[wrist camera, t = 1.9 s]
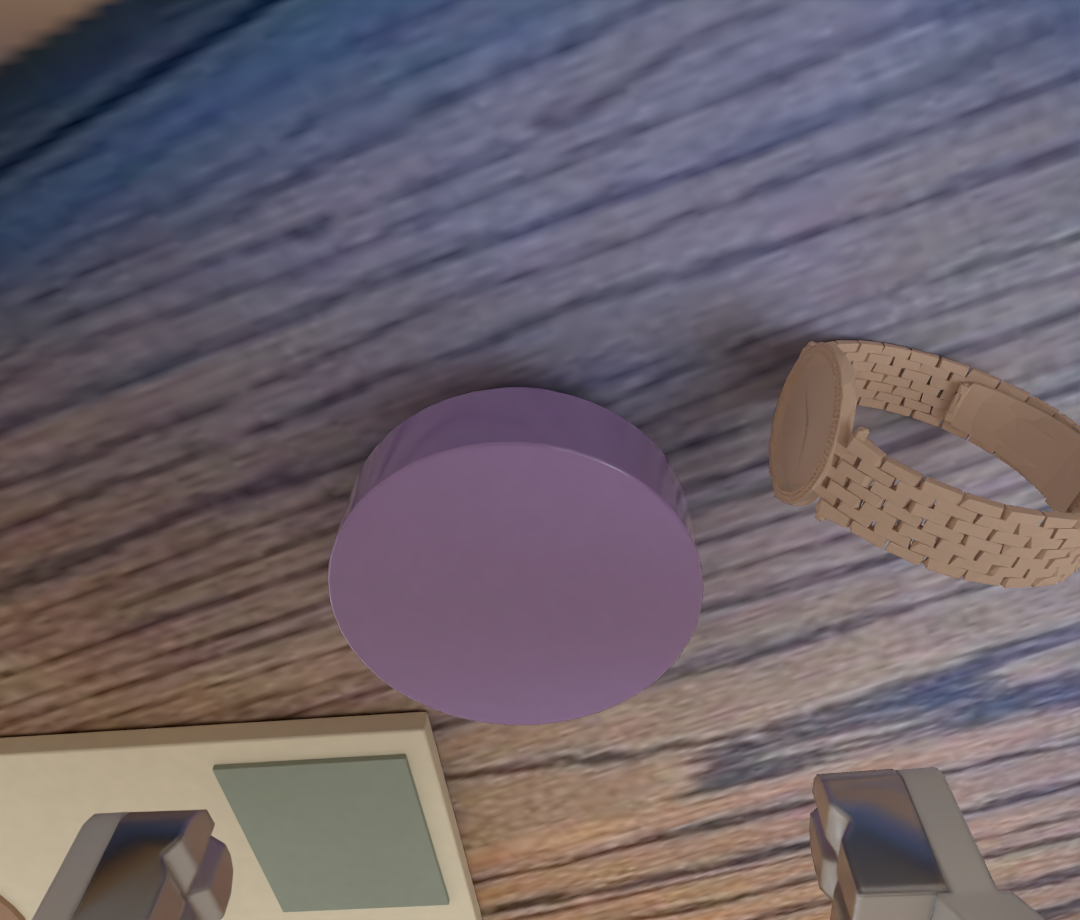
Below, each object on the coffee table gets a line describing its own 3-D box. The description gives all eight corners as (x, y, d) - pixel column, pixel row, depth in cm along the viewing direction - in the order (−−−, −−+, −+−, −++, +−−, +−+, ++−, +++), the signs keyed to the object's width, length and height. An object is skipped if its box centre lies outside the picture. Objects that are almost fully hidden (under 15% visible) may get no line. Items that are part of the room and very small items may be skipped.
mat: (-404, 761, 22) (-433, 786, 21) (427, 710, 20) (423, 735, 20) (-120, 1017, 29) (-134, 1041, 29) (503, 994, 28) (502, 1019, 27)
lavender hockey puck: (326, 371, 15) (282, 460, 13) (678, 339, 15) (703, 425, 12) (396, 626, 19) (372, 735, 16) (684, 606, 18) (704, 715, 16)
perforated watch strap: (791, 286, 14) (889, 439, 10) (1049, 339, 15) (1243, 507, 11) (740, 418, 16) (806, 600, 12) (975, 464, 16) (1122, 654, 12)
